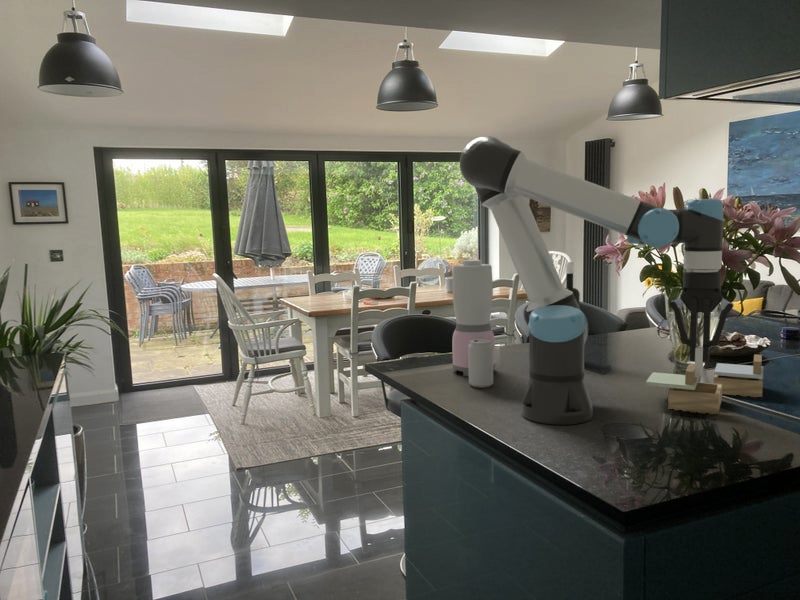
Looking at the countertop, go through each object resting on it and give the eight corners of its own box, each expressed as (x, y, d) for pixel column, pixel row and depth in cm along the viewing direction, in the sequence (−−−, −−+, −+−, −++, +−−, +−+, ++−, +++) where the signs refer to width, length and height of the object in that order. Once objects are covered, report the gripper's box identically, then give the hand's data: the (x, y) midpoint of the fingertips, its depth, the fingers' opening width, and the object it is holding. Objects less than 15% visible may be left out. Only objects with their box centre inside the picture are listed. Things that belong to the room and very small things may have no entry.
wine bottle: (576, 363, 188) (576, 262, 184) (557, 361, 191) (557, 262, 187) (581, 359, 193) (582, 261, 189) (563, 357, 196) (563, 261, 192)
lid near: (694, 389, 137) (695, 372, 136) (645, 385, 142) (646, 368, 141) (699, 379, 145) (699, 363, 145) (652, 375, 150) (653, 359, 150)
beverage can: (474, 381, 170) (474, 337, 168) (497, 383, 167) (496, 339, 165) (464, 386, 164) (464, 341, 163) (487, 389, 161) (487, 343, 160)
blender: (500, 375, 176) (499, 260, 172) (458, 377, 174) (456, 262, 171) (485, 363, 192) (483, 258, 188) (446, 365, 190) (443, 259, 186)
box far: (762, 400, 145) (762, 381, 144) (713, 395, 150) (714, 377, 149) (762, 389, 153) (763, 372, 153) (716, 385, 158) (717, 368, 158)
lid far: (762, 379, 144) (763, 362, 144) (714, 374, 149) (714, 359, 149) (763, 369, 153) (763, 354, 152) (717, 366, 158) (717, 351, 157)
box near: (718, 414, 135) (719, 394, 134) (668, 409, 140) (668, 390, 139) (721, 403, 144) (721, 384, 143) (673, 398, 149) (674, 379, 148)
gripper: (736, 269, 138) (732, 375, 141) (672, 268, 144) (669, 369, 147) (735, 272, 131) (730, 382, 134) (667, 271, 138) (665, 376, 141)
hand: (698, 375), depth 141 cm, fingers closed
